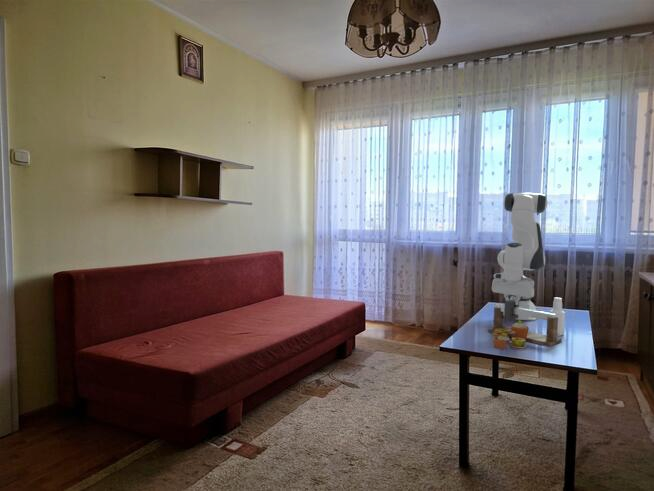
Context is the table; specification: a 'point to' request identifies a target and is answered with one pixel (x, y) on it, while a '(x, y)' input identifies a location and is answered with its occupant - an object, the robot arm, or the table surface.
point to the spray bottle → (559, 314)
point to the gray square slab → (508, 310)
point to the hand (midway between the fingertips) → (511, 304)
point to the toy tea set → (517, 336)
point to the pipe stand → (537, 338)
